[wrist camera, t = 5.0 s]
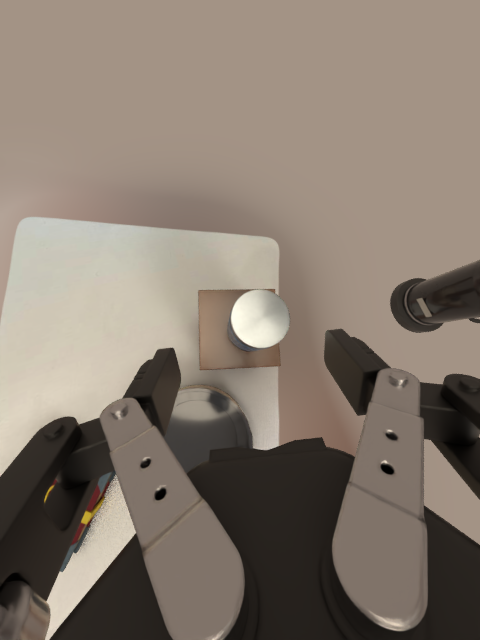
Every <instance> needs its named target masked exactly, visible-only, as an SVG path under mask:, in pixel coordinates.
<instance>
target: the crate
mask: <svg viewBox="0 0 480 640" xmlns="http://www.w3.org/2000/svg"><path fill="white" fill-rule="evenodd" d="M252 290H255V289H252ZM263 290H268V291H271V292H273V293H275V289H263ZM248 291H251V290H199V291H198V294H199V350H200V370H212V369H232V368H251V367H271V366H280V365H281V364H280V351H279V343H277V344H276V345H274V346H271V347H269V348H266V349H262V350H258V351H243V350H241V349H239V348H237V347H236V346H235V345H234V344H233V343H232V342H231V341H230V339H229V336H228V332H227V326H228V320H229V317H230V313H231V310H232V308H233V306H234V304H235V302H236V301H237V300H238V298H239V297H240V296H242V295H243V294H244V293H246V292H248Z"/></svg>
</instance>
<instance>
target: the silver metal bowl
mask: <svg viewBox="0 0 480 640" xmlns="http://www.w3.org/2000/svg"><path fill="white" fill-rule="evenodd" d="M163 438H164V440H165V441H166V443H167V444H168V446H169V447H170V449H171V451H172V452H173V454H174V455H175V457H176V459H177V460H178V462H179V463H180V465H181V466H182V468H183V470H184V471H185V473H187V472H189V471H190V470H191V469H192V468H194V467H195V466H197V465H199V464H201V463H203V462H205V461H207V460H209V454H210V450H213V449H222V448H231V447H243V448H250V449H253V441H252V433H251V430H250V427H249V424H248V421H247V419H246V417H245V415H244V413H243V411H242V410H241V408H240V406H239V405H238V403H237V402H236V401H235V400H234V399H233V398H232V397H231V396H230V395H228V394H227V393H225V392H223V391H222V390H220V389H218V388H216V387H211V386H206V385H190V386H187V387H184V388H181V389H179V390H178V394H177V397H176V401H175V404H174V408H173V411H172V415H171V418H170V421H169V425H168V428H167V432H166V435H165V437H163Z"/></svg>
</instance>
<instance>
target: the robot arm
mask: <svg viewBox="0 0 480 640" xmlns="http://www.w3.org/2000/svg"><path fill="white" fill-rule="evenodd" d="M403 308H404V310H405V312H406V314H407V316H408V317H409V318H410V319H411V320H412V321H413V322H415V323H417V324H419V325H423V326H429V325H434V324H438V323H444V322H450V321H456V320H462V319H469V320H470V321H472V322H475V323H480V320H479V319H475V318H476V317H480V260H479V261H476V262H473V263H470V264H468V265H465V266H462V267H460V268H457V269H455V270H452V271H449V272H447V273H444V274H441V275H439V276H436V277H434V278H431V279H428V280H425V281H423V282H420V283H416V284H414V285H411V286H410V287H409V288H407V290H406V291H405V293H404V295H403ZM324 360H325V364H326V367H327V369H328V370H329V372H330V373H331V375H332V376H333V378H334V380H335V381H336V383H337V384H338V386H339V387H340V389H341V391H342V392H343V394H344V395H345V397H346V398H347V400H348V401H349V403H350V405H351V406H352V407H353V409H354V411H355V412H356V414H357V415H358V416H359V415H366V418H365V421H364V425H363V429H362V433H361V436H360V441H359V444H358V448H357V452H356V456H355V457H354V456H352V455H350V454H348V453H346V452H344V451H341V450H338V449H334V448H330V447H326V446H325V443H324V441H323V439H322V437H321V438H312V439H303V440H294V441H292V442H289V443H286V444H284V445H281V446H278V447H276V448H273V449H270V450H258V449H250V448H243V447H231V448H222V449H213V450H210V454H209V460H207V461H205V462H203V463H201V464H199V465H197V466H195V467H194V468H192V469H191V470H190V471H189V472H187V473H185V471H184V470H183V468H182V466H181V465H180V463H179V462H178V460H177V459H176V457H175V455H174V454H173V452H172V451H171V449H170V447H169V446H168V444H167V443H166V441H165V440H164V438H163V437H165V435H166V432H167V428H168V425H169V421H170V418H171V415H172V411H173V408H174V404H175V401H176V397H177V394H178V390H179V387H180V383H181V374H180V369H179V365H178V361H177V358H176V354H175V350H174V349H173V348H165V349H158V350H157V352H156V354H155V356H154V358H153V359H151V360H148V361H147V362H145V363H144V364H143V365H142V366H141V367H140V369H139V371H138V372H137V374H136V376H135V378H134V380H133V381H132V383H131V384H130V386H129V388H128V390H127V391H126V393H125V395H124V397H123V398H122V399H119V400H117V401H115V402H113V403H111V404H110V405H108V406H107V407H106V408H105V409H104V410H103V411H102V413H101V415H100V418H97V419H94V420H91V421H88V422H85V423H82V424H80V425H79V424H78V423H77V421H76V419H75V418H74V417H62V418H59V419H57V420H54V421H52V422H50V423H49V424H47V425H45V426H44V427H43V428H41V429H40V430H39V431H38V432H37V433H36V434H35V435H34V436H33V438H32V439H31V440H30V441H29V442H28V444H27V445H26V446H25V447H24V449H23V450H22V451H21V452H20V453H19V455H18V456H17V457H16V458H15V460H14V461H13V462H12V463H11V464H10V466H9V467H8V468H7V469H6V471H5V472H4V473H3V474H2V475H1V477H0V640H45V637H46V634H47V631H48V627H49V623H50V608H49V605H48V603H47V602H46V601H47V599H48V597H49V594H50V592H51V590H52V587H53V585H54V583H55V581H56V578H57V576H58V574H59V571H60V569H61V567H62V564H63V562H64V560H65V558H66V555H67V553H68V551H69V548H70V546H71V544H72V541H73V539H74V537H75V534H76V532H77V530H78V528H79V525H80V523H81V521H82V518H83V516H84V514H85V511H86V509H87V507H88V505H89V502H90V500H91V498H92V495H93V493H94V491H95V488H96V486H97V484H98V482H99V479H100V477H101V476H103V475H105V474H108V473H110V472H113V471H116V474H117V477H118V480H119V483H120V486H121V489H122V492H123V495H124V498H125V501H126V504H127V507H128V510H129V513H130V516H131V519H132V522H133V525H134V528H135V530H136V534H135V535H134V536H133V537H132V539H131V540H130V541H129V542H128V544H127V545H126V546H125V547H124V548H123V550H122V551H121V552H120V553H119V555H118V556H117V557H116V558H115V559H114V561H113V562H112V563H111V564H110V566H109V567H108V568H107V569H106V570H105V572H104V573H103V574H102V575H101V577H100V578H99V579H98V580H97V581H96V583H95V584H94V585H93V586H92V588H91V589H90V590H89V591H88V592H87V594H86V595H85V596H84V597H83V599H82V600H81V601H80V602H79V603H78V605H77V606H76V607H75V608H74V609H73V611H72V612H71V613H70V614H69V616H68V617H67V618H66V619H65V620H64V622H63V623H62V624H61V625H60V627H59V628H58V629H57V630H56V632H55V633H54V634H53V636H52V637H51V638H50V640H480V545H479V544H478V543H476V542H475V541H474V540H472V539H471V538H469V537H468V536H466V535H465V534H464V533H462V532H461V531H459V530H458V529H457V528H455V527H454V526H452V525H451V524H450V523H448V522H447V521H445V520H444V519H443V518H441V517H439V516H438V515H437V514H436V513H434V512H433V511H431V510H430V509H429V508H427V507H426V506H424V439H429V440H431V441H432V442H433V443H434V445H435V446H436V447H437V448H438V449H439V450H440V452H441V453H442V454H443V456H444V457H445V458H446V459H447V460H448V462H449V463H450V464H451V465H452V466H453V468H454V469H455V470H456V471H457V473H458V474H459V475H460V476H461V477H462V479H463V480H464V481H465V482H466V484H467V485H468V486H469V487H470V489H471V490H472V491H473V492H474V493H475V495H476V496H477V497H478V498H479V499H480V438H479V434H480V379H478V378H475V377H472V376H468V375H463V374H450V375H447V376H446V377H445V379H444V382H443V385H441V384H430V383H422V382H419V380H418V379H417V378H416V377H415V376H414V375H412V374H411V373H409V372H406V371H403V370H400V369H395V368H391V367H389V366H388V365H387V364H386V363H385V362H384V361H383V360H382V359H381V358H380V357H379V356H378V355H377V354H376V353H374V351H373V350H372V349H369V347H368V346H367V345H366V344H365V343H364V342H363V341H361V340H359V339H357V338H355V337H350V336H349V335H348V334H347V333H346V332H345V331H344V330H343V329H336V330H327V331H326V333H325V350H324ZM55 479H56V480H57V482H56V483H55V485H54V487H53V489H52V490H51V492H50V494H49V495H48V497H47V499H46V500H45V496H46V494H47V492H48V490H49V488H50V487H51V485H52V483H53V482H54V480H55ZM44 500H45V502H44Z"/></svg>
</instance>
